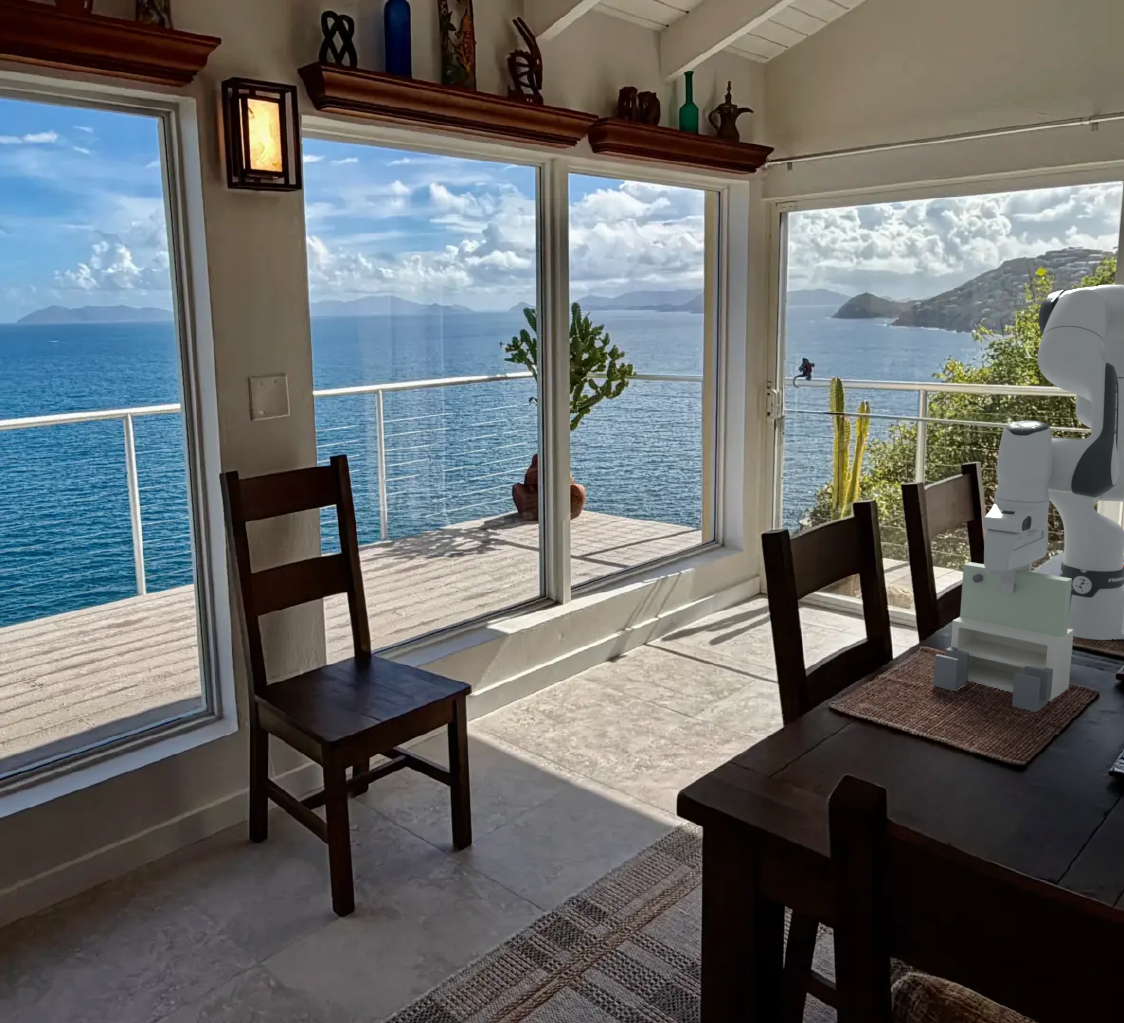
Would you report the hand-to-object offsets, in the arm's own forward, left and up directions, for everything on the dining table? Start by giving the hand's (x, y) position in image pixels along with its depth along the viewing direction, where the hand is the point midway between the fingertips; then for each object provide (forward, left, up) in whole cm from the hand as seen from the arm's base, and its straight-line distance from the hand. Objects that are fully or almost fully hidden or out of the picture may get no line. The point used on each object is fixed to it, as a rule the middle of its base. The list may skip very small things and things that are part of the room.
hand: (1014, 589), depth 182 cm
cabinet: (+3, 0, -18) cm, 18 cm away
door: (0, 0, -7) cm, 7 cm away
